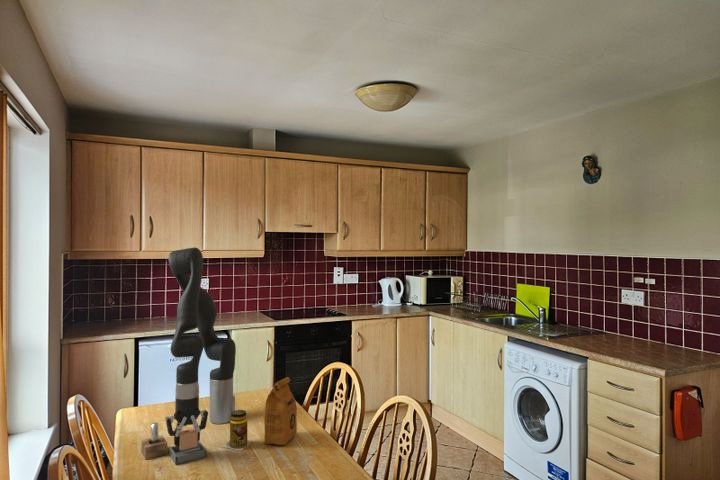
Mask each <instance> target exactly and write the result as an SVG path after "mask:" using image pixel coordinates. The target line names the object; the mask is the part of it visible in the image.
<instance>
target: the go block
mask: <svg viewBox="0 0 720 480" xmlns="http://www.w3.org/2000/svg"><path fill="white" fill-rule="evenodd" d="M140 441H141V442H140V443H141V447H140V449H141V450H140V451H141V454H142V456H143V458H144V459H145V460H149V459H154V458H158V457H162V456H165V455H166V456H167V455H168V441H167V439H166V438H165V437H164V436H163V435H158V443H154V444H151V437H150V438H146V439H141V440H140Z"/></svg>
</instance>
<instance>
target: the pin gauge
mask: <svg viewBox="0 0 720 480" xmlns="http://www.w3.org/2000/svg"><path fill="white" fill-rule="evenodd" d="M150 431H151V432H150V438H151V444H154V443H158V437H159V422H153V423H151V425H150Z"/></svg>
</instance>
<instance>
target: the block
mask: <svg viewBox="0 0 720 480" xmlns="http://www.w3.org/2000/svg"><path fill="white" fill-rule="evenodd" d="M179 436H180V441H179V449H180V450H185V449H190V448H194V447H197V445H198V432H197V431H196V429H195V428H194V426H190V427H185V428H184V427H183V428H182V430H181V431H180V434H179Z"/></svg>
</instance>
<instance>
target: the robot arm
mask: <svg viewBox="0 0 720 480" xmlns="http://www.w3.org/2000/svg"><path fill="white" fill-rule="evenodd" d="M168 264H169V267H170V269H171V272H172V275H173V276H174V278H175V280H176V282H177V283H178V285H179V288H180V289H181V292H182V295H181V297H180V298H179V300H178V302H177V305H176V308H177V309H176V326H175V332H174V336H173V338H172V340H171V341H172V342H171V343H170V344H171V345H170V353H171V355H172V357H174V358H178V359H179V358H190V357H191V359H190V360H189V361H186V362H183V363H180V364H178V365H177V367H176V371H175V373H176V376H175V377H176V378H175V379H176V380H175V381H176V382H175V390H174V392H175V396H174V397H175V398H174V399H175V402H174V403H175V406H174V407H175V411H174V414H173V415H172V416H166V417H165V423H166V430H167V433H168V435H169V436H170V437H173V444H174V446H177V447H179V441H180V436H179V434H180V431H181V430H182V429H184V427H186V426H192V427H194V428H195V429H196V431H197V432H198V441H200V439H201V436H200V435H201V431H203V430H205V429H206V427H207V421H208V416H209V422H210V423H212V424H214V425H215V424H216V425H217V424H219V425H221V424H226V423H230V420H231V413H232V412H233V411H235V410H236V396H235V395H234V372H235V367H236V354H237V353H236V352H237V351H236V350H237V348H236V342H235V341H234V339H232V338H228V337H220V336H217V334H216V331H215V327H214V326H215V322H216V319H217V315H218V310H217V307H216V304H215V301H214V298H213V296H212V295H211V293H209V292H208V291H207V290H206V289H204V288H203V287H202V286H201V285H202V280H203V270H204V256H203V253H202V251H201V249H200V248H198V247H188V248H182V249H177V250H173V251H171V252H169V254H168ZM195 329H198V333H199V335H197V334H196V335H184V334H185V333H186V332H190V331H193V330H195ZM203 351H204V353H205V355H206V357H207V358H208V359H209V360H212V361H217V362H219V367H217V368H214V369H211V370H210V372H209V411H207V409H203V410H200V409H199V408H200V385H199V366H200V360H201V357H202V353H203ZM198 417H201V418H200V419H201V420H200V424H199V423H198V422H197V420H198ZM174 420H175V421H176V423H175V428H174V429H173V425H172V424H173V423H174Z"/></svg>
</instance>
